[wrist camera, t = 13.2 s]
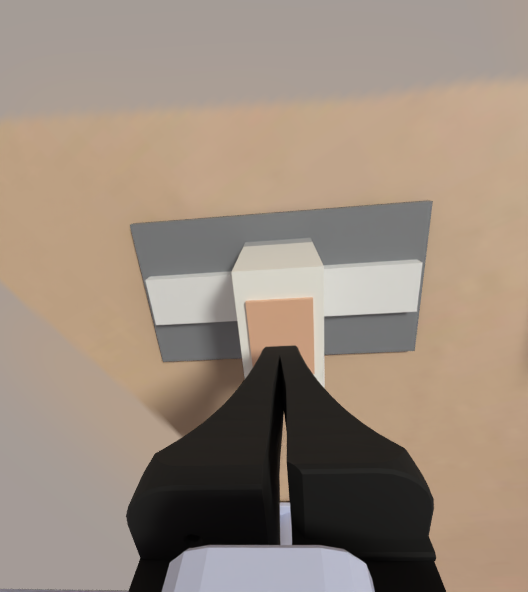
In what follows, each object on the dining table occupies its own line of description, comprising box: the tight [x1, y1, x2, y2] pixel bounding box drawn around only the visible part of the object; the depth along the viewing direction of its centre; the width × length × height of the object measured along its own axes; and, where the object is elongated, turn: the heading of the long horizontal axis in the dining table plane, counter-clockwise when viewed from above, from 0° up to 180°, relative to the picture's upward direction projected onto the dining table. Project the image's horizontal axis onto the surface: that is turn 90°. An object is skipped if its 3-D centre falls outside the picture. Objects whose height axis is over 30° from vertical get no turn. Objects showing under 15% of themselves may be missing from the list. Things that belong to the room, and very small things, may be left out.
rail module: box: [231, 238, 325, 389], centre depth 17 cm, size 7×4×6 cm, turn 5°
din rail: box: [130, 201, 433, 362], centre depth 20 cm, size 10×18×1 cm, turn 95°
